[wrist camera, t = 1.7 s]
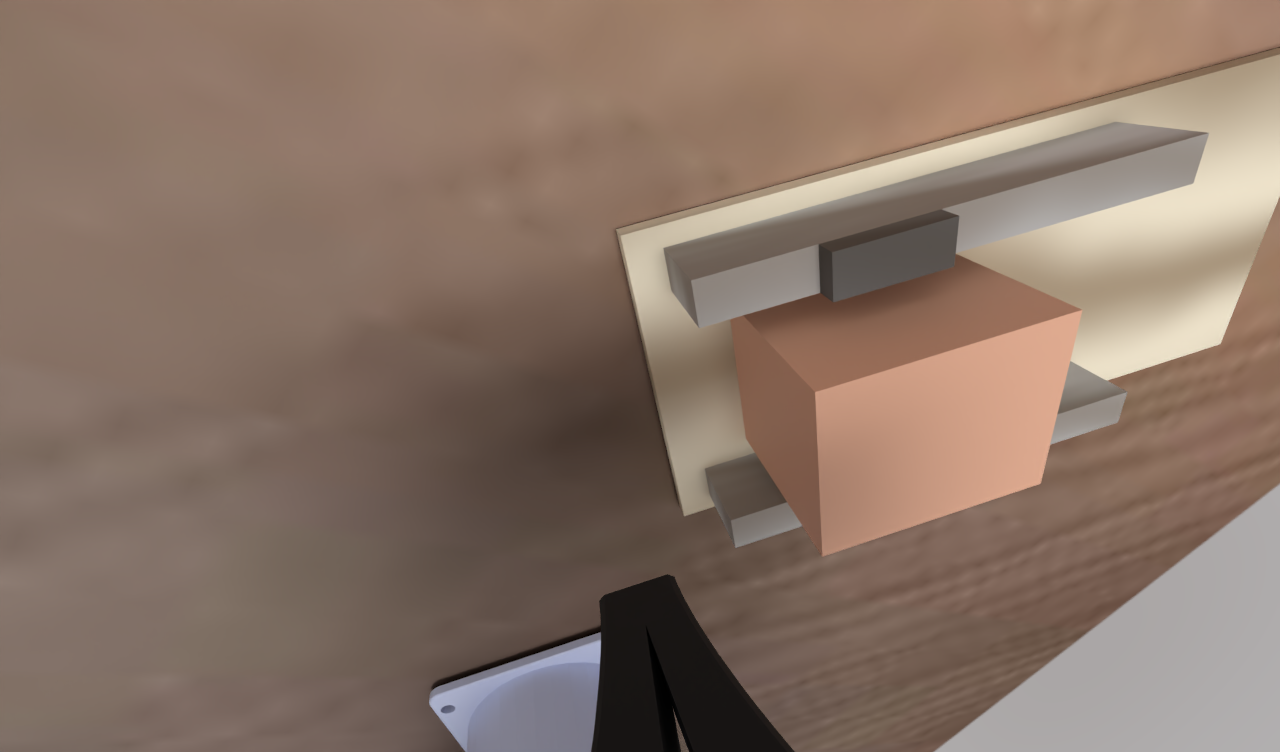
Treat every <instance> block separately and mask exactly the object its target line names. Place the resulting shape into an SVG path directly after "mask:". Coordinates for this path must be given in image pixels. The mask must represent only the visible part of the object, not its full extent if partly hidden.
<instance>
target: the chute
mask: <svg viewBox="0 0 1280 752" xmlns="http://www.w3.org/2000/svg"><path fill="white" fill-rule="evenodd" d="M1279 196H1280V48H1276V49H1272V50H1269V51H1265V52H1261V53H1258V54H1254V55H1250V56H1247V57H1243V58H1239V59H1236V60H1232V61H1228V62H1225V63H1221V64H1217V65H1214V66H1210V67H1206V68H1203V69H1199V70H1196V71H1192V72H1188V73H1185V74H1181V75H1177V76H1174V77H1170V78H1166V79H1163V80H1159V81H1155V82H1152V83H1148V84H1144V85H1141V86H1137V87H1133V88H1130V89H1126V90H1123V91H1119V92H1115V93H1112V94H1108V95H1104V96H1101V97H1097V98H1093V99H1090V100H1086V101H1082V102H1079V103H1075V104H1071V105H1068V106H1064V107H1060V108H1057V109H1053V110H1049V111H1046V112H1042V113H1039V114H1035V115H1031V116H1028V117H1024V118H1020V119H1017V120H1013V121H1009V122H1006V123H1002V124H998V125H995V126H991V127H987V128H984V129H980V130H976V131H973V132H969V133H966V134H962V135H958V136H955V137H951V138H947V139H944V140H940V141H936V142H933V143H929V144H925V145H922V146H918V147H914V148H911V149H907V150H903V151H900V152H896V153H892V154H889V155H885V156H882V157H878V158H874V159H871V160H867V161H863V162H860V163H856V164H852V165H849V166H845V167H841V168H838V169H834V170H830V171H827V172H823V173H819V174H816V175H812V176H809V177H805V178H801V179H798V180H794V181H790V182H787V183H783V184H779V185H776V186H772V187H768V188H765V189H761V190H757V191H754V192H750V193H746V194H743V195H739V196H735V197H732V198H728V199H725V200H721V201H717V202H714V203H710V204H706V205H703V206H699V207H695V208H692V209H688V210H684V211H681V212H677V213H673V214H670V215H666V216H662V217H659V218H655V219H652V220H648V221H644V222H641V223H637V224H633V225H630V226H626V227H622V228H619V229H616V231H617V236H618V240H619V244H620V249H621V253H622V257H623V262H624V266H625V270H626V275H627V279H628V283H629V288H630V292H631V296H632V301H633V305H634V309H635V314H636V318H637V322H638V327H639V331H640V335H641V340H642V344H643V348H644V353H645V357H646V362H647V366H648V370H649V375H650V379H651V383H652V388H653V392H654V396H655V401H656V405H657V409H658V414H659V418H660V422H661V427H662V431H663V435H664V440H665V444H666V448H667V453H668V457H669V461H670V466H671V470H672V474H673V479H674V483H675V487H676V492H677V496H678V500H679V505H680V507H681V509H682V512H683V514H684V516H687V515H690V514H693V513H696V512H699V511H702V510H706V509H709V508H712V507H716V509H717V511H718V513H719V515H720V517H721V519H722V521H723V523H724V525H725V528H726V530H727V532H728V534H729V536H730V538H731V540H732V542H733V544H734V546H735V548H737V547H740V546H743V545H746V544H749V543H752V542H755V541H758V540H761V539H764V538H767V537H771V536H774V535H777V534H780V533H783V532H786V531H789V530H792V529H795V528H798V527H801V526H802V524H801V523H800V521H799V520H798V518H797V517H796V515H795V514H794V512H793V510H792V509H791V507H790V506H789V504H788V503H787V501H786V500H785V498H784V497H783V495H782V494H781V492H780V490H779V489H778V487H777V486H776V484H775V483H774V481H773V480H772V478H771V477H770V475H769V473H768V472H767V470H766V469H765V467H764V466H763V464H762V463H761V461H760V460H759V458H758V457H757V455H756V453H755V452H754V450H753V449H752V447H751V446H750V444H749V443H748V441H747V440H746V436H745V428H744V420H743V413H742V405H741V398H740V390H739V382H738V375H737V367H736V359H735V352H734V344H733V336H732V329H731V321H730V319H733V318H736V317H739V316H743V315H746V314H750V313H753V312H756V311H760V310H763V309H767V308H770V307H774V306H777V305H780V304H784V303H787V302H791V301H794V300H797V299H801V298H804V297H808V296H811V295H814V294H818V293H821V294H823V295H824V296H825V297H827V298H828V299H829V300H831V301H832V302H837V301H840V300H843V299H847V298H850V297H854V296H857V295H860V294H864V293H867V292H871V291H874V290H877V289H881V288H884V287H888V286H891V285H894V284H898V283H901V282H904V281H908V280H911V279H915V278H918V277H921V276H925V275H928V274H932V273H935V272H938V271H942V270H945V269H949V268H952V267H954V265H955V255H956V254H958V255H960V256H962V257H964V258H967V259H969V260H971V261H973V262H976V263H978V264H980V265H982V266H985V267H987V268H989V269H991V270H994V271H996V272H998V273H1001V274H1003V275H1005V276H1007V277H1010V278H1012V279H1014V280H1016V281H1019V282H1021V283H1023V284H1025V285H1028V286H1030V287H1032V288H1034V289H1037V290H1039V291H1041V292H1043V293H1046V294H1048V295H1050V296H1053V297H1055V298H1057V299H1059V300H1062V301H1064V302H1066V303H1068V304H1071V305H1073V306H1075V307H1077V308H1080V309H1082V314H1081V319H1080V323H1079V327H1078V331H1077V335H1076V339H1075V343H1074V347H1073V352H1072V356H1071V360H1070V364H1069V368H1068V372H1067V376H1066V381H1065V385H1064V389H1063V393H1062V397H1061V401H1060V405H1059V410H1058V414H1057V418H1056V422H1055V426H1054V430H1053V434H1052V438H1051V443H1050V444H1053V443H1056V442H1059V441H1062V440H1065V439H1068V438H1072V437H1075V436H1078V435H1081V434H1084V433H1087V432H1090V431H1093V430H1096V429H1099V428H1102V427H1105V426H1108V425H1111V424H1114V423H1117V422H1118V420H1119V417H1120V414H1121V411H1122V407H1123V404H1124V401H1125V398H1126V395H1127V391H1125V390H1123V389H1121V388H1119V387H1117V386H1116V385H1114V384H1112V383H1110V382H1108V381H1107V380H1110V379H1113V378H1116V377H1119V376H1123V375H1126V374H1129V373H1132V372H1135V371H1138V370H1141V369H1144V368H1147V367H1151V366H1154V365H1157V364H1160V363H1163V362H1166V361H1169V360H1172V359H1175V358H1179V357H1182V356H1185V355H1188V354H1191V353H1194V352H1197V351H1200V350H1203V349H1207V348H1210V347H1213V346H1216V345H1219V344H1220V343H1221V341H1222V338H1223V336H1224V333H1225V331H1226V328H1227V326H1228V323H1229V321H1230V318H1231V316H1232V313H1233V311H1234V308H1235V306H1236V303H1237V301H1238V298H1239V296H1240V293H1241V291H1242V288H1243V286H1244V283H1245V281H1246V279H1247V276H1248V274H1249V271H1250V269H1251V266H1252V264H1253V261H1254V259H1255V256H1256V254H1257V251H1258V249H1259V246H1260V244H1261V241H1262V239H1263V236H1264V234H1265V231H1266V229H1267V226H1268V224H1269V221H1270V219H1271V216H1272V214H1273V211H1274V209H1275V206H1276V204H1277V201H1278V199H1279Z"/></svg>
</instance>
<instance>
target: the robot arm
mask: <svg viewBox="0 0 1280 752" xmlns="http://www.w3.org/2000/svg"><path fill="white" fill-rule="evenodd" d="M599 602H600V614H601V632H599V633H596V634H593V635H590V636H587V637H584V638H581V639H578V640H575V641H572V642H569V643H566V644H563V645H560V646H557V647H554V648H551V649H548V650H545V651H542V652H539V653H536V654H534V655H531V656H528V657H525V658H522V659H519V660H516V661H513V662H510V663H507V664H504V665H501V666H498V667H495V668H492V669H489V670H486V671H483V672H480V673H477V674H474V675H471V676H468V677H465V678H462V679H459V680H456V681H453V682H450V683H447V684H444V685H441V686H438V687H436V688H435V689H433V690H432V691H431V693H430V698H429V704H430V706H431V708H432V709H433V710H434V711H435V713H436V714H437V715H438V717H439V718H440V719H441V721H442V722H443V723H444V725H445V726H446V727H447V728H448V730H449V731H450V732H451V734H452V735H453V736H454V738H455V739H456V740H457V742H458V743H459V744H460V745H461V747H462V748H463V749H464V751H465V752H681V749H680V744H679V738H678V733H677V728H676V723H675V717H674V712H675V715H676V717H677V720H678V723H679V726H680V728H681V731H682V734H683V737H684V739H685V742H686V745H687V748H688V750H689V752H794V750H793V749H792V748H791V747H790V746H789V745H788V743H787V742H786V741H785V740H784V739H783V737H782V736H781V735H780V734H779V733H778V731H777V730H776V729H775V728H774V727H773V725H772V724H771V723H770V722H769V720H768V719H767V718H766V717H765V715H764V714H763V713H762V712H761V710H760V709H759V708H758V707H757V705H756V704H755V703H754V702H753V700H752V699H751V698H750V696H749V695H748V694H747V692H746V691H745V690H744V689H743V687H742V686H741V685H740V683H739V682H738V680H737V679H736V678H735V676H734V675H733V674H732V672H731V671H730V669H729V668H728V667H727V665H726V664H725V662H724V661H723V660H722V658H721V657H720V656H719V654H718V653H717V651H716V650H715V648H714V647H713V645H712V644H711V642H710V641H709V639H708V638H707V636H706V635H705V633H704V631H703V630H702V628H701V627H700V625H699V623H698V622H697V620H696V619H695V617H694V615H693V613H692V612H691V610H690V608H689V606H688V605H687V603H686V601H685V599H684V597H683V595H682V593H681V591H680V589H679V587H678V585H677V582H676V580H675V577H674V576H671V575H668V574H667V575H664V576H661V577H658V578H655V579H652V580H649V581H646V582H643V583H640V584H637V585H634V586H631V587H628V588H624V589H621V590H618V591H615V592H612V593H609V594H606V595H604V596H603V597H602V598H601V600H600V601H599ZM672 706H673V707H672ZM673 709H674V712H673Z"/></svg>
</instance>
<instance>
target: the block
mask: <svg viewBox="0 0 1280 752" xmlns="http://www.w3.org/2000/svg"><path fill="white" fill-rule="evenodd" d="M1081 314H1082V309H1080V308H1077V307H1075V306H1073V305H1071V304H1068V303H1066V302H1064V301H1062V300H1059V299H1057V298H1055V297H1053V296H1050V295H1048V294H1046V293H1043V292H1041V291H1039V290H1037V289H1034V288H1032V287H1030V286H1028V285H1025V284H1023V283H1021V282H1019V281H1016V280H1014V279H1012V278H1010V277H1007V276H1005V275H1003V274H1001V273H998V272H996V271H994V270H991V269H989V268H987V267H985V266H982V265H980V264H978V263H976V262H973V261H971V260H969V259H967V258H964V257H962V256H960V255H958V254H956V255H955V265H954V267H952V268H949V269H945V270H942V271H938V272H935V273H932V274H928V275H925V276H921V277H918V278H915V279H911V280H908V281H904V282H901V283H898V284H894V285H891V286H888V287H884V288H881V289H877V290H874V291H871V292H867V293H864V294H860V295H857V296H854V297H850V298H847V299H843V300H840V301H837V302H832V301H831V300H829V299H828V298H827V297H825V296H824V295H823V294H821V293H818V294H814V295H811V296H808V297H804V298H801V299H797V300H794V301H791V302H787V303H784V304H780V305H777V306H774V307H770V308H767V309H763V310H760V311H756V312H753V313H750V314H746V315H743V316H739V317H736V318H733V319H730V321H731V329H732V336H733V344H734V352H735V359H736V367H737V375H738V382H739V390H740V398H741V405H742V413H743V420H744V428H745V436H746V440H747V441H748V443H749V444H750V446H751V447H752V449H753V450H754V452H755V453H756V455H757V457H758V458H759V460H760V461H761V463H762V464H763V466H764V467H765V469H766V470H767V472H768V473H769V475H770V477H771V478H772V480H773V481H774V483H775V484H776V486H777V487H778V489H779V490H780V492H781V494H782V495H783V497H784V498H785V500H786V501H787V503H788V504H789V506H790V507H791V509H792V510H793V512H794V514H795V515H796V517H797V518H798V520H799V521H800V523H801V524H802V526H803V527H804V529H805V531H806V532H807V534H808V535H809V537H810V538H811V540H812V541H813V543H814V544H815V546H816V548H817V549H818V551H819V552H820V554H821V555H822V557H823V556H826V555H829V554H832V553H835V552H838V551H841V550H844V549H847V548H850V547H853V546H856V545H859V544H862V543H865V542H868V541H871V540H874V539H877V538H880V537H882V536H885V535H888V534H891V533H894V532H897V531H900V530H903V529H906V528H909V527H912V526H915V525H918V524H921V523H924V522H927V521H930V520H933V519H936V518H939V517H942V516H945V515H948V514H951V513H954V512H957V511H960V510H963V509H966V508H969V507H972V506H975V505H978V504H981V503H984V502H987V501H990V500H993V499H996V498H999V497H1002V496H1005V495H1008V494H1011V493H1014V492H1017V491H1020V490H1023V489H1026V488H1029V487H1032V486H1035V485H1038V484H1041V480H1042V476H1043V472H1044V467H1045V463H1046V459H1047V455H1048V451H1049V447H1050V443H1051V438H1052V434H1053V430H1054V426H1055V422H1056V418H1057V414H1058V410H1059V405H1060V401H1061V397H1062V393H1063V389H1064V385H1065V381H1066V376H1067V372H1068V368H1069V364H1070V360H1071V356H1072V352H1073V347H1074V343H1075V339H1076V335H1077V331H1078V327H1079V323H1080V319H1081Z"/></svg>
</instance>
